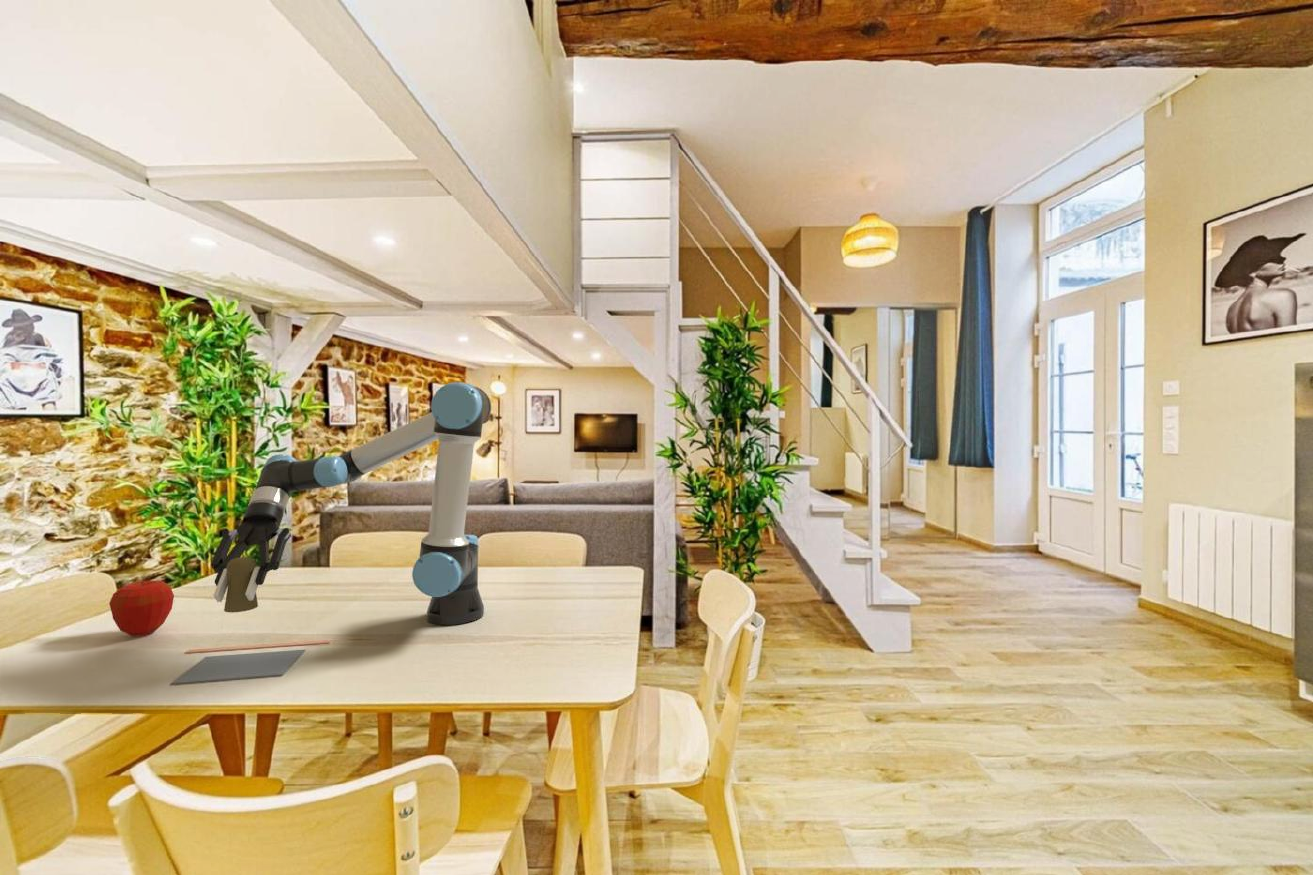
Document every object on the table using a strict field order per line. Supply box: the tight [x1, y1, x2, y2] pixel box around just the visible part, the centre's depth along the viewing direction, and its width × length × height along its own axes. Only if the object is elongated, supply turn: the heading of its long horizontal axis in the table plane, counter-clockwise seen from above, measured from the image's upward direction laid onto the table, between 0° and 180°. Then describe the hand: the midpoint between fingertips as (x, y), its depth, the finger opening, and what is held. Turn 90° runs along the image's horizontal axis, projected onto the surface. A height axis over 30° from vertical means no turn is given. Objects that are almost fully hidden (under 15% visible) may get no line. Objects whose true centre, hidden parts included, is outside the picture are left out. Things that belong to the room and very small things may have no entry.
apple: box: [109, 578, 175, 637], centre depth 144 cm, size 12×12×14 cm
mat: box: [170, 649, 306, 686], centre depth 125 cm, size 20×14×1 cm
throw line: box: [184, 639, 332, 654], centre depth 137 cm, size 30×2×1 cm, turn 105°
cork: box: [223, 556, 259, 613], centre depth 125 cm, size 6×6×11 cm
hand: (233, 597), depth 122 cm, fingers closed on cork, 5 cm apart
